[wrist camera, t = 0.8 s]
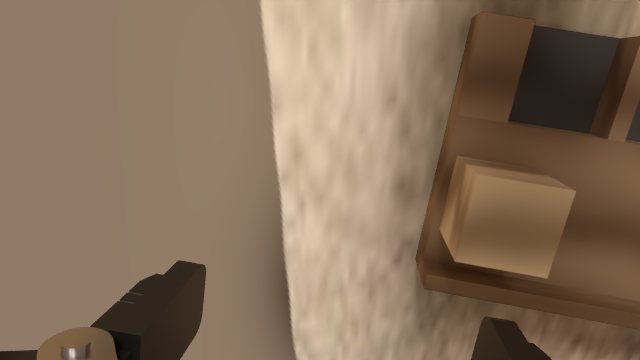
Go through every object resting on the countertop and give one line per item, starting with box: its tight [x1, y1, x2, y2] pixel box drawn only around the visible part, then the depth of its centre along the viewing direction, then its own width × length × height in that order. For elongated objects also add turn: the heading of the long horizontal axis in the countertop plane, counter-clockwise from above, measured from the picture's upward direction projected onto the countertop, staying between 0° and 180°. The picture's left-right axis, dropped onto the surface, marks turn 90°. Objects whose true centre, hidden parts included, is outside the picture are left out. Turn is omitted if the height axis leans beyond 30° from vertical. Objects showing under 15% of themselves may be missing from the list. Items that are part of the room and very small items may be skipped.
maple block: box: [439, 156, 576, 278], centre depth 25 cm, size 5×5×5 cm
